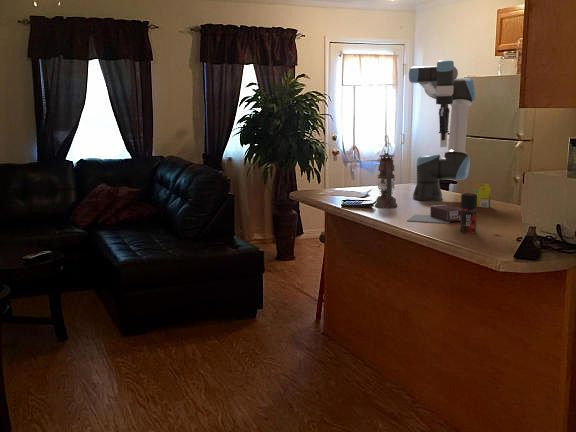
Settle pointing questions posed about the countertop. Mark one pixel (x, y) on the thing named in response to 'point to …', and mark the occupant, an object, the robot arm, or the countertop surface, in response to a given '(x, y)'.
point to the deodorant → (468, 213)
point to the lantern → (386, 182)
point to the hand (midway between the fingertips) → (443, 147)
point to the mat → (426, 219)
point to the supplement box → (446, 212)
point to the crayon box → (482, 195)
